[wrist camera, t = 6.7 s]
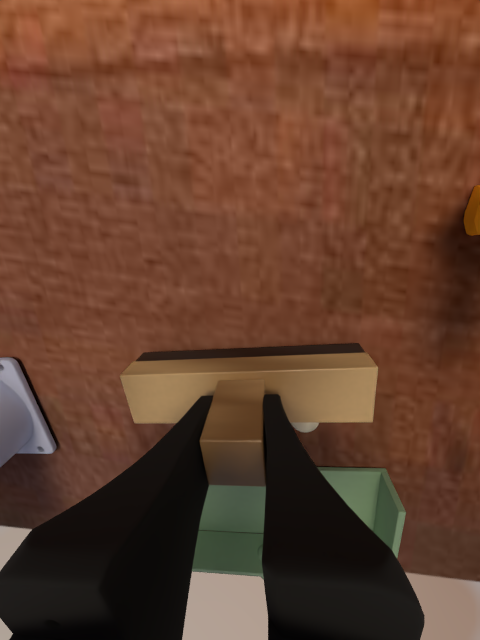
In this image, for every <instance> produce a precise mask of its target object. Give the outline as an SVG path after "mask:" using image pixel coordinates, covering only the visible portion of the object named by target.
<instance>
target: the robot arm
mask: <svg viewBox="0 0 480 640" xmlns="http://www.w3.org/2000/svg"><path fill="white" fill-rule="evenodd" d="M213 396H214V395H211V396H201V397H200V398H199V399H198V400H197V401H196V402H195V403H194V404H193V406H192V407H191V408H190V409H189V410H188V411H187V413H186V414H185V415H184V416H183V417H182V418H181V419H180V420H179V421H178V423H177V424H176V425H175V426H174V427H173V428H172V429H171V430H170V431H169V432H168V433H167V434H166V435H165V436H164V437H163V438H162V439H161V440H160V441H159V442H158V443H157V444H156V445H155V446H154V447H153V448H152V449H151V450H150V451H148V452H147V453H146V454H145V455H144V456H143V457H142V458H140V459H139V460H138V461H137V462H136V463H134V464H133V465H132V466H131V467H129V468H128V469H127V470H125V471H124V472H123V473H121V474H120V475H119V476H117V477H116V478H115V479H113V480H112V481H111V482H109V483H108V484H106V485H105V486H104V487H102V488H101V489H99V490H98V491H96V492H95V493H93V494H92V495H90V496H89V497H87V498H85V499H84V500H82V501H81V502H79V503H78V504H76V505H74V506H73V507H71V508H69V509H68V510H66V511H64V512H62V513H61V514H59V515H57V516H55V517H54V518H52V519H50V520H48V521H47V522H45V523H43V524H41V525H40V526H38V527H36V528H34V529H32V531H31V532H30V533H29V534H28V536H27V537H26V538H25V539H24V541H23V542H22V543H21V545H20V546H19V547H18V549H17V550H16V551H15V553H14V554H13V555H12V556H11V558H10V559H9V560H8V562H7V563H6V564H5V566H4V567H3V568H2V570H1V571H0V618H1V619H2V621H3V622H4V623H5V624H6V625H7V627H8V628H9V629H10V630H11V631H12V633H13V635H12V637H11V638H10V640H182V635H183V628H184V621H185V620H184V619H185V613H186V606H187V599H188V593H189V586H190V578H191V573H192V567H193V561H194V554H195V548H196V542H197V537H198V531H199V525H200V520H201V515H202V511H203V507H204V503H205V499H206V495H207V491H208V488H209V484H208V480H207V475H206V471H205V466H204V461H203V456H202V451H201V446H200V441H199V440H200V437H201V434H202V431H203V428H204V425H205V421H206V418H207V415H208V412H209V409H210V406H211V403H212V400H213ZM263 413H264V424H265V436H266V447H267V469H266V496H265V517H264V534H263V550H262V569H263V577H264V585H265V594H266V601H267V610H268V640H420V637H421V634H422V631H423V627H424V614H423V611H422V609H421V606H420V603H419V601H418V598H417V596H416V594H415V592H414V590H413V588H412V586H411V584H410V582H409V580H408V578H407V576H406V574H405V572H404V570H403V568H402V567H401V565H400V563H399V561H398V560H397V558H396V556H395V555H394V553H393V551H392V550H391V549H390V547H388V546H387V545H386V544H385V543H384V542H383V541H382V540H381V539H380V538H379V537H378V536H377V535H376V534H375V533H374V532H373V531H372V530H371V529H370V528H369V527H368V526H367V525H366V524H365V523H364V522H363V521H362V520H361V519H360V518H359V517H358V515H357V514H356V513H355V512H354V511H353V510H352V509H351V508H350V507H349V506H348V505H347V504H346V502H345V501H344V500H343V499H342V498H341V496H340V495H339V494H338V493H337V492H336V491H335V489H334V488H333V487H332V486H331V485H330V483H329V482H328V481H327V480H326V478H325V477H324V476H323V474H322V473H321V472H320V470H319V469H318V468H317V466H316V465H315V464H314V462H313V461H312V459H311V458H310V456H309V455H308V453H307V452H306V450H305V449H304V447H303V445H302V444H301V442H300V440H299V439H298V437H297V435H296V433H295V431H294V429H293V427H292V426H291V424H290V422H289V420H288V417H287V415H286V413H285V410H284V408H283V405H282V401H281V396H279V395H278V394H264V397H263ZM56 448H57V447H56V444H55V441H54V439H53V437H52V435H51V433H50V431H49V428H48V426H47V424H46V422H45V420H44V418H43V415H42V413H41V411H40V409H39V407H38V405H37V402H36V400H35V398H34V396H33V394H32V392H31V389H30V387H29V385H28V383H27V381H26V379H25V376H24V374H23V372H22V370H21V368H20V366H19V363H18V362H17V361H16V360H15V359H13V358H10V357H5V358H0V467H1V466H2V465H4V464H5V463H6V462H7V461H8V460H9V459H10V458H11V457H12V456H13V455H14V454H15V453H29V454H51V453H53V452H54V451H55V450H56Z"/></svg>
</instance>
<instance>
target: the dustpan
mask: <svg viewBox="0 0 480 640" xmlns="http://www.w3.org/2000/svg"><path fill="white" fill-rule="evenodd" d="M317 468H318V469H319V470H320V472H321V473H322V474H323V476H324V477H325V478H326V480H327V481H328V482H329V483H330V485H331V486H332V487H333V488H334V489H335V491H336V492H337V493H338V494H339V495H340V496H341V498H342V499H343V500H344V501H345V502H346V504H347V505H348V506H349V507H350V508H351V509H352V510H353V511H354V512H355V513H356V514H357V515H358V517H359V518H360V519H361V520H362V521H363V522H364V523H365V524H366V525H367V526H368V527H369V528H370V529H371V530H372V531H373V532H374V533H375V534H376V535H377V536H378V537H379V538H380V539H381V540H382V541H383V542H384V543H385V544H386V545H387V546H388V547H390V549H391V550H392V551H393V553H394V555H395V556H396V558H397V556H398V551H399V546H400V541H401V535H402V530H403V525H404V520H405V514H406V512H405V509H404V507H403V505H402V503H401V501H400V499H399V497H398V494H397V492H396V490H395V488H394V486H393V484H392V482H391V480H390V477H389V475H388V473H387V471H386V469H385V468H342V467H317ZM265 496H266V486H265V487H257V486H222V485H209V488H208V491H207V495H206V499H205V503H204V507H203V511H202V515H201V520H200V525H199V530H209V531H198V537H197V542H196V548H195V554H194V561H193V567H192V571H193V572H207V573H220V574H235V575H247V576H260V577H262V579H264V577H263V569H262V550H263V534H255V533H264V517H265ZM218 531H228V532H218ZM236 532H247V533H236Z"/></svg>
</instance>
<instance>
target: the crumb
mask: <svg viewBox="0 0 480 640" xmlns="http://www.w3.org/2000/svg"><path fill="white" fill-rule="evenodd" d="M291 424H292V426H293V427H294V428H295V429H296V430H298V431H300V432H311V431H313V430H314V429H316V428H317V426H318V425H319V422H310V423H291Z"/></svg>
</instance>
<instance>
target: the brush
mask: <svg viewBox="0 0 480 640" xmlns="http://www.w3.org/2000/svg"><path fill="white" fill-rule="evenodd" d="M377 373H378V367H377V366H376V364H375V363H374V361H373V360H372V359H371V357H370V356H369V355H368V353H366V352H365V351H364V350H363V349H362V347H361V346H360V345H359V344H358V343H353V344H330V345H307V346H284V347H261V348H238V349H216V350H193V351H170V352H147V353H143V354H142V355H141V356H140V357H139V358H138V359H137V360H136V361H135V362H132V363H131V364H130V365H129V366H128V367H127V368H126V370H125V371H124V372H123V373H122V374H121V375H120V379H121V382H122V385H123V388H124V392H125V395H126V398H127V401H128V404H129V408H130V411H131V414H132V417H133V420H134V423H178V421H179V420H180V419H181V418H182V417H183V416H184V415H185V414H186V413H187V411H188V410H189V409H190V408H191V407H192V406H193V404H194V403H195V402H196V401H197V400H198V399H199V398H200V397H201V396H211V395H214V396H213V400H212V403H211V406H210V409H209V412H208V415H207V418H206V421H205V425H204V428H203V431H202V434H201V437H200V440H199V441H200V446H201V451H202V456H203V461H204V466H205V471H206V475H207V480H208V484H209V485H222V486H257V487H265V486H266V469H267V447H266V436H265V424H264V413H263V397H264V394H278V395H279V396H281V401H282V405H283V408H284V410H285V413H286V415H287V417H288V420H289V422H290V423H310V422H373V413H374V403H375V393H376V383H377Z"/></svg>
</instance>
